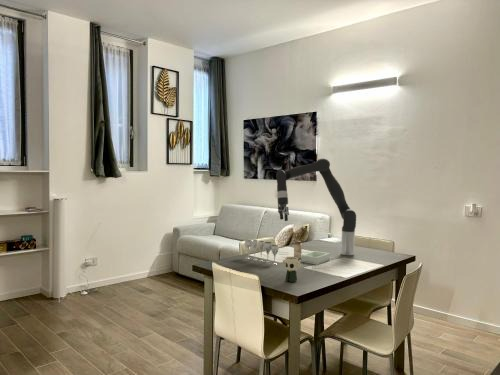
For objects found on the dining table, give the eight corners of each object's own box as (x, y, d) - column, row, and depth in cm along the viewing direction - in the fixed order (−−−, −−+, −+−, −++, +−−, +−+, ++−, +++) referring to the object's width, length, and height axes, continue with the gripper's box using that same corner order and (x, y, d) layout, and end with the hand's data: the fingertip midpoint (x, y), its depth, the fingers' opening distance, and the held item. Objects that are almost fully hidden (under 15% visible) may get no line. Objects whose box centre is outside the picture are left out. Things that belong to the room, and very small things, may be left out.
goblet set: (280, 263, 259) (280, 243, 258) (274, 265, 254) (275, 244, 254) (247, 256, 277) (248, 238, 276) (242, 258, 273) (242, 239, 272)
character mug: (279, 281, 218) (279, 257, 217) (285, 278, 224) (286, 255, 223) (297, 284, 212) (297, 260, 211) (302, 281, 218) (303, 258, 217)
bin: (313, 257, 280) (314, 250, 280) (329, 259, 273) (329, 253, 272) (301, 261, 265) (301, 255, 265) (317, 264, 258) (317, 257, 258)
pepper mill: (296, 257, 279) (296, 240, 278) (302, 258, 276) (303, 241, 275) (292, 258, 275) (292, 241, 274) (298, 259, 272) (299, 242, 271)
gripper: (283, 195, 277) (285, 218, 273) (291, 198, 290) (292, 220, 286) (273, 196, 281) (275, 219, 277) (281, 200, 293) (283, 221, 289)
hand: (284, 220), depth 281 cm, fingers open, 8 cm apart
